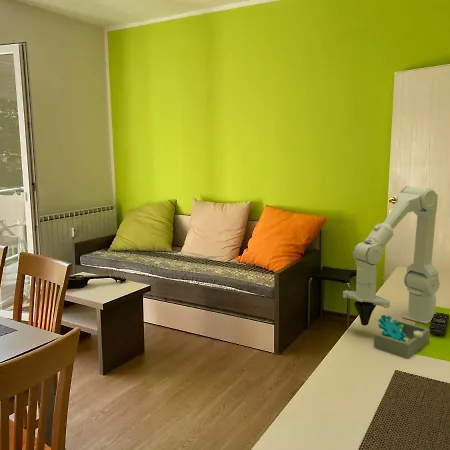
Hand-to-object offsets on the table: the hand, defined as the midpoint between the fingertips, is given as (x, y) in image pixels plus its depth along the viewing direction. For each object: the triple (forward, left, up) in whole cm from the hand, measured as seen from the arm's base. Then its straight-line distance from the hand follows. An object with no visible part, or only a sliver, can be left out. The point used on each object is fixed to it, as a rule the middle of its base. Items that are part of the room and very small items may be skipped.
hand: (364, 324), depth 139 cm
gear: (0, +9, -3) cm, 10 cm away
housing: (0, +12, -3) cm, 12 cm away
